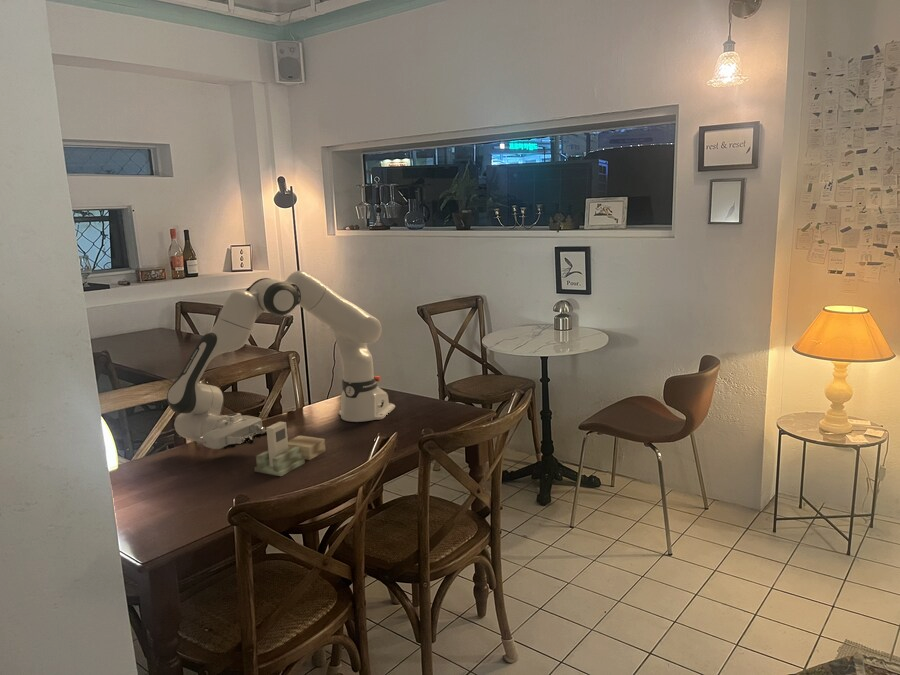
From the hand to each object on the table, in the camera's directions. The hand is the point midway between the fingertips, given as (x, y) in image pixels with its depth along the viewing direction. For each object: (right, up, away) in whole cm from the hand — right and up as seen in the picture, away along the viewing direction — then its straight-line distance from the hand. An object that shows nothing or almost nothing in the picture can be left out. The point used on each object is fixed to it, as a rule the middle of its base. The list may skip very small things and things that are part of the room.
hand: (253, 435), depth 206 cm
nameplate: (-7, -5, +26) cm, 27 cm away
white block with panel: (+9, -8, -2) cm, 12 cm away
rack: (+9, -9, -2) cm, 13 cm away
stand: (+14, -7, +8) cm, 18 cm away
